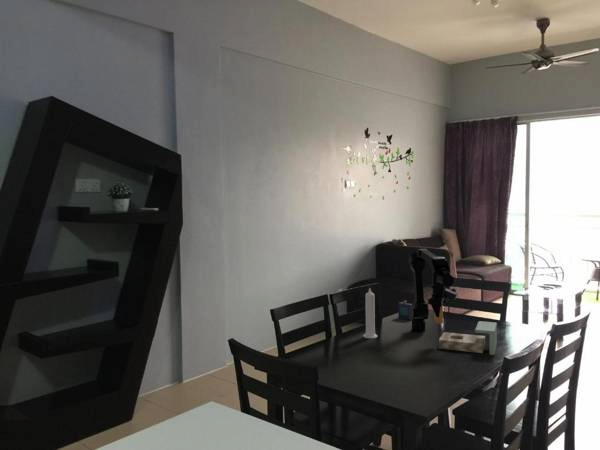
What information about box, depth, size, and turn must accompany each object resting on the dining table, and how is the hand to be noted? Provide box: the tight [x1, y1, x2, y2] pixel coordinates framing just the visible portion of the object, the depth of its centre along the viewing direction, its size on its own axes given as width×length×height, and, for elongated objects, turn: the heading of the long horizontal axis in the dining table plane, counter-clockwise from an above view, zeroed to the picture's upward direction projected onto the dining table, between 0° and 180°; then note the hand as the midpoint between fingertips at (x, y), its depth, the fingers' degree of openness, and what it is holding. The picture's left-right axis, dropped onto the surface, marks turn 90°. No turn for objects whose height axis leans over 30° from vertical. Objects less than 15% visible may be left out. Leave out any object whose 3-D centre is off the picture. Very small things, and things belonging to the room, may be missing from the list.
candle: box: [363, 287, 378, 340], centre depth 251 cm, size 7×7×25 cm
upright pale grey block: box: [474, 320, 498, 356], centre depth 228 cm, size 8×16×11 cm, turn 155°
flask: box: [398, 300, 413, 321], centre depth 286 cm, size 9×3×11 cm, turn 44°
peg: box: [433, 304, 444, 324], centre depth 237 cm, size 4×4×10 cm
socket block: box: [438, 331, 486, 354], centre depth 233 cm, size 19×14×4 cm
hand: (438, 316), depth 237 cm, fingers closed on peg, 4 cm apart
